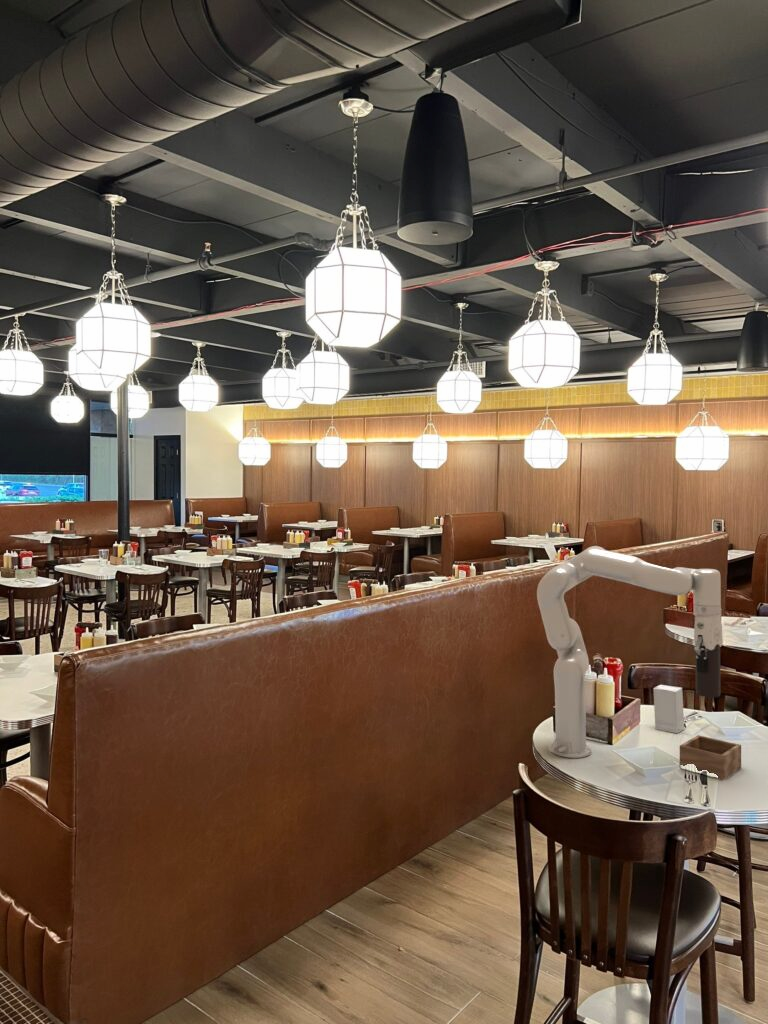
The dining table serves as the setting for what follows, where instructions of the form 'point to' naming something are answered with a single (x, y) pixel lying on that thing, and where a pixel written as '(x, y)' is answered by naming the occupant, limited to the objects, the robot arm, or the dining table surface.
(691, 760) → the caddy
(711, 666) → the vinegar
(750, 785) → the dining table surface
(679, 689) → the skincare box
